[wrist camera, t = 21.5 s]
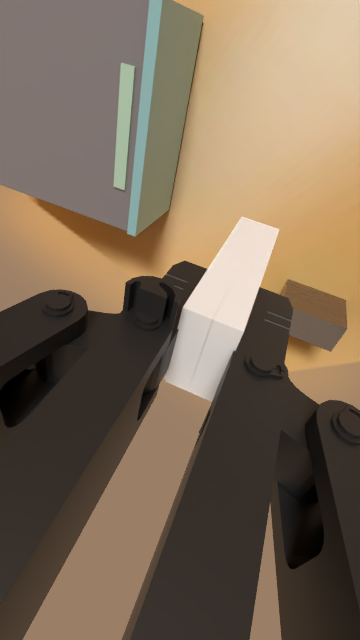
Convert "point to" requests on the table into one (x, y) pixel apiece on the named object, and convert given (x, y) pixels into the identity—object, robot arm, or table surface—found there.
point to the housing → (72, 102)
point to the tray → (162, 108)
